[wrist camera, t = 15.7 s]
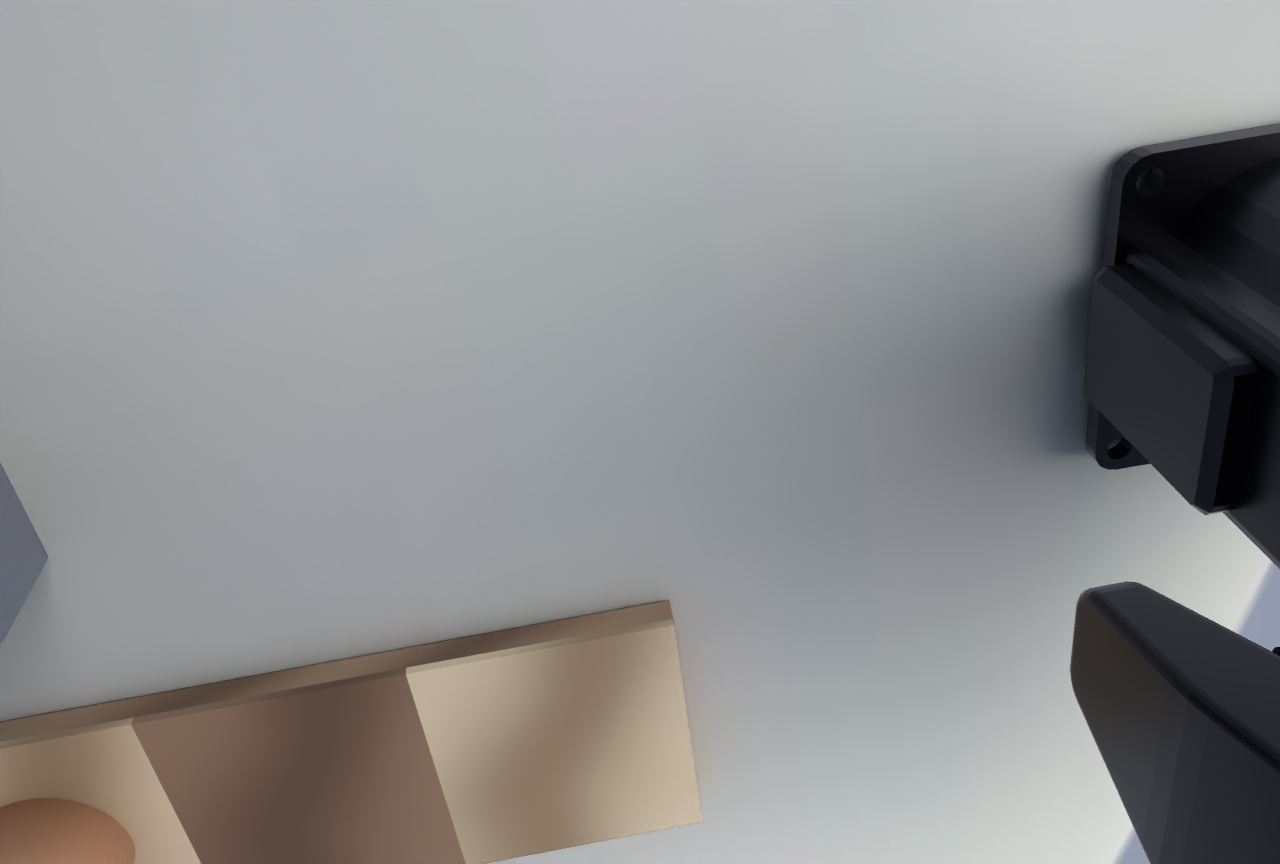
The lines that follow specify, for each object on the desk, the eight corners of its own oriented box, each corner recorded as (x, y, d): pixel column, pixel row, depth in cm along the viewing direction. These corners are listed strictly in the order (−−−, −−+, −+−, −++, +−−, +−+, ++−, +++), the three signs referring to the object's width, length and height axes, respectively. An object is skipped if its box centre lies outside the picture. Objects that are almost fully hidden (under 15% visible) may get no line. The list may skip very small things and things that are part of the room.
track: (668, 600, 24) (674, 625, 23) (696, 794, 27) (702, 821, 26) (-410, 797, 23) (-438, 828, 22) (-250, 975, 26) (-270, 1007, 25)
